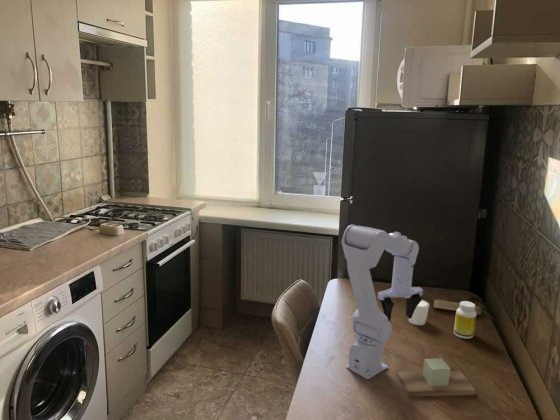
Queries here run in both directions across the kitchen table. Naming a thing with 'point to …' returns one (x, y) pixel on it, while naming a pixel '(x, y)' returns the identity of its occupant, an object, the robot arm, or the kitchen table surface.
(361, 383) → the kitchen table surface
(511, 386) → the kitchen table surface
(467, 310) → the pill bottle
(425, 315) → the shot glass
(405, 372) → the walnut board
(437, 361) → the sage cube
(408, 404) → the kitchen table surface
